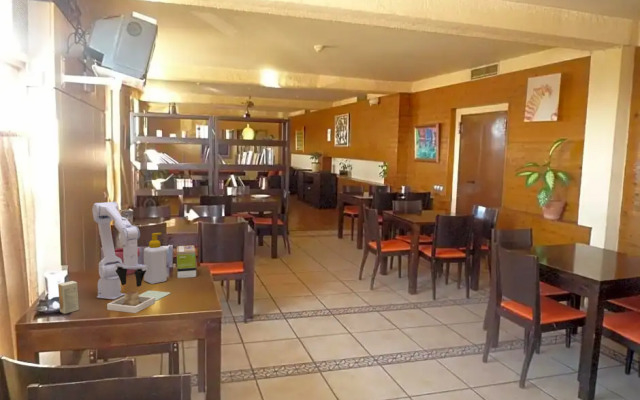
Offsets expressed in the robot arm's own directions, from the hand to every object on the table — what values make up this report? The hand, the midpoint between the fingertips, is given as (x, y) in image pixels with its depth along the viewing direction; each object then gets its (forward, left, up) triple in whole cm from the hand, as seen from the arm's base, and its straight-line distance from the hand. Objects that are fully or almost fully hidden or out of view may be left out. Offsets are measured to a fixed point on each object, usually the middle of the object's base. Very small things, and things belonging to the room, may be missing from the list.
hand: (131, 285), depth 205 cm
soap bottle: (-13, +37, -10) cm, 40 cm away
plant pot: (-38, +47, -10) cm, 61 cm away
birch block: (0, 0, -10) cm, 10 cm away
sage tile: (0, +15, -9) cm, 18 cm away
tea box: (-5, +54, -10) cm, 55 cm away
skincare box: (-21, -13, -10) cm, 26 cm away
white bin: (0, 0, -9) cm, 9 cm away
